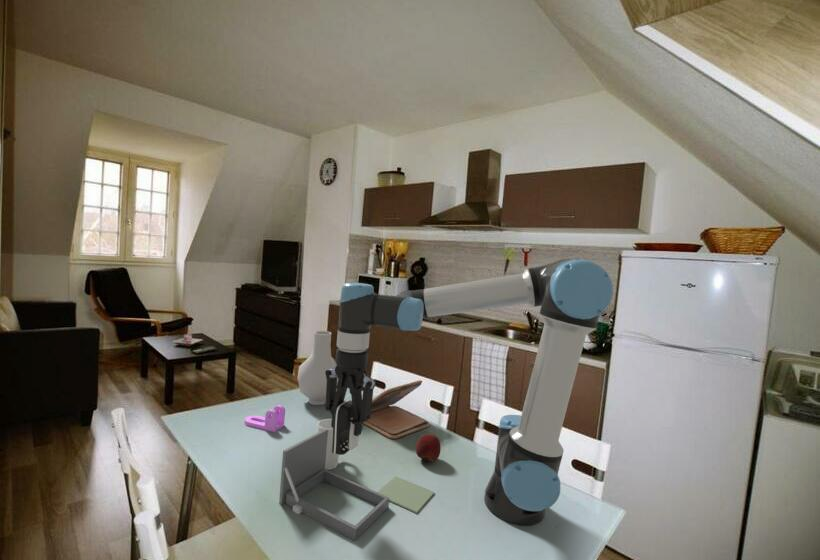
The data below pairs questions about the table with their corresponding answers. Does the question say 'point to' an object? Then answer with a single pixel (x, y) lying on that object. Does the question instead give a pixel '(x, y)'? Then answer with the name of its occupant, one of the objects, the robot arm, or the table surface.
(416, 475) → the table surface
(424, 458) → the apple
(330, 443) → the mug
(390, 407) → the case
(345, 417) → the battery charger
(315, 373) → the vase
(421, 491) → the mat
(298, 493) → the case
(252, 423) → the bracket
